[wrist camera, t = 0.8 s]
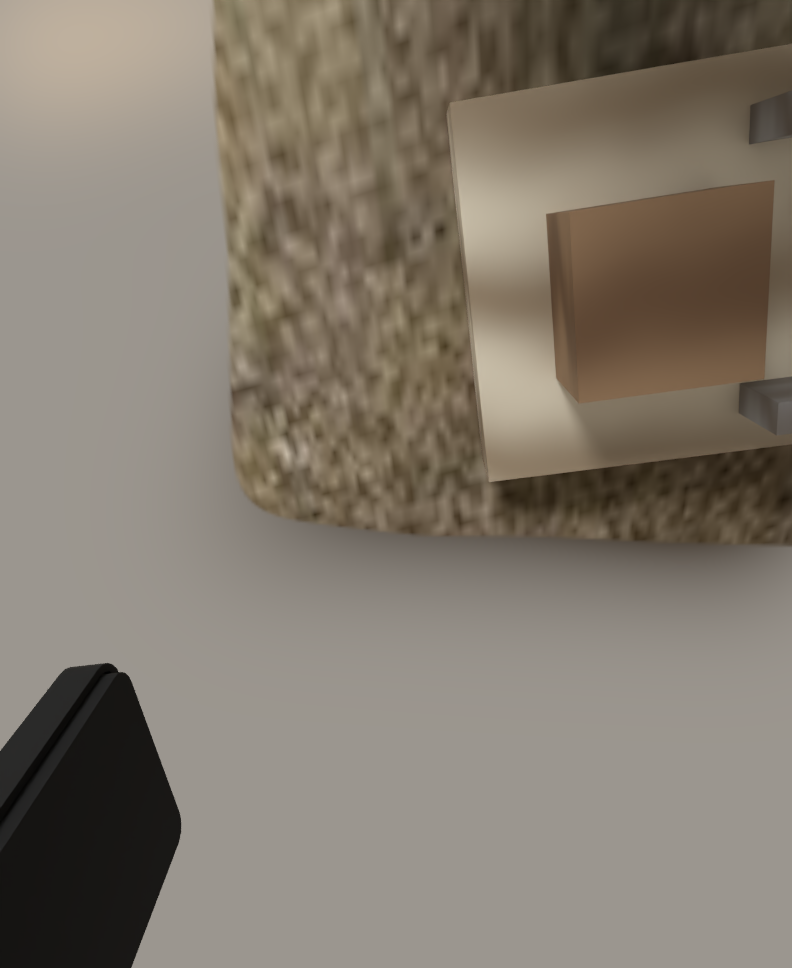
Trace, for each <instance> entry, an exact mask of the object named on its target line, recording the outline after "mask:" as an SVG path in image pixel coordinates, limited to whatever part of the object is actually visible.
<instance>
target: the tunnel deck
mask: <svg viewBox="0 0 792 968" xmlns="http://www.w3.org/2000/svg"><path fill="white" fill-rule="evenodd" d="M446 119H447V128H448V137H449V147H450V156H451V166H452V175H453V184H454V194H455V203H456V213H457V222H458V231H459V241H460V250H461V260H462V269H463V279H464V288H465V297H466V307H467V316H468V326H469V335H470V344H471V354H472V363H473V373H474V382H475V391H476V401H477V410H478V420H479V429H480V438H481V448H482V457H483V462H484V465H485V469H486V473H487V476H488V480H489V482H494V481H502V480H510V479H518V478H526V477H534V476H542V475H550V474H558V473H566V472H574V471H582V470H590V469H598V468H606V467H614V466H622V465H630V464H638V463H646V462H654V461H662V460H670V459H679V458H687V457H695V456H703V455H711V454H719V453H727V452H735V451H743V450H751V449H759V448H767V447H775V446H783V445H791V444H792V44H786V45H781V46H775V47H769V48H763V49H757V50H752V51H746V52H740V53H734V54H728V55H723V56H717V57H711V58H705V59H699V60H694V61H688V62H682V63H676V64H670V65H664V66H659V67H653V68H647V69H641V70H635V71H630V72H624V73H618V74H612V75H606V76H601V77H595V78H589V79H583V80H577V81H572V82H566V83H560V84H554V85H548V86H543V87H537V88H531V89H525V90H519V91H514V92H508V93H502V94H496V95H490V96H484V97H479V98H473V99H467V100H461V101H455V102H450V103H449V107H448V111H447V115H446ZM771 180H775V184H774V203H773V222H772V242H771V261H770V280H769V300H768V319H767V338H766V358H765V377H764V379H761V380H753V381H746V382H738V383H731V384H723V385H716V386H708V387H701V388H693V389H685V390H678V391H670V392H663V393H655V394H648V395H640V396H633V397H625V398H618V399H610V400H603V401H595V402H588V403H580V404H579V403H578V402H577V401H576V400H575V399H574V397H573V396H572V395H571V394H570V393H569V392H568V391H567V390H566V388H565V387H564V386H563V385H562V384H561V383H560V382H559V381H558V379H557V378H556V369H555V352H554V336H553V320H552V304H551V288H550V271H549V255H548V239H547V223H546V214H548V213H555V212H561V211H567V210H574V209H580V208H587V207H593V206H599V205H606V204H612V203H619V202H625V201H631V200H638V199H644V198H651V197H657V196H663V195H670V194H676V193H682V192H689V191H695V190H702V189H708V188H714V187H722V186H730V185H738V184H746V183H755V182H763V181H771Z"/></svg>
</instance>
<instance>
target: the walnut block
mask: <svg viewBox="0 0 792 968" xmlns="http://www.w3.org/2000/svg"><path fill="white" fill-rule="evenodd" d="M774 184H775V180H771V181H763V182H755V183H746V184H738V185H730V186H722V187H714V188H708V189H702V190H695V191H689V192H682V193H676V194H670V195H663V196H657V197H651V198H644V199H638V200H631V201H625V202H619V203H612V204H606V205H599V206H593V207H587V208H580V209H574V210H567V211H561V212H555V213H548V214H546V223H547V239H548V255H549V271H550V288H551V304H552V320H553V336H554V352H555V369H556V378H557V379H558V381H559V382H560V383H561V384H562V385H563V386H564V387H565V388H566V390H567V391H568V392H569V393H570V394H571V395H572V396H573V397H574V399H575V400H576V401H577V402H578V403H579V404H580V403H588V402H595V401H603V400H610V399H618V398H625V397H633V396H640V395H648V394H655V393H663V392H670V391H678V390H685V389H693V388H701V387H708V386H716V385H723V384H731V383H738V382H746V381H753V380H761V379H764V377H765V358H766V338H767V319H768V300H769V280H770V261H771V242H772V222H773V203H774Z"/></svg>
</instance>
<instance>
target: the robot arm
mask: <svg viewBox="0 0 792 968" xmlns="http://www.w3.org/2000/svg"><path fill="white" fill-rule="evenodd" d="M180 834H181V818H180V813H179V810H178V807H177V805H176V802H175V799H174V796H173V794H172V791H171V788H170V786H169V783H168V780H167V777H166V774H165V772H164V769H163V767H162V764H161V761H160V758H159V756H158V753H157V750H156V747H155V745H154V742H153V739H152V736H151V734H150V731H149V728H148V726H147V723H146V720H145V717H144V715H143V712H142V709H141V706H140V704H139V701H138V698H137V696H136V693H135V690H134V687H133V685H132V682H131V680H130V678H129V676H128V675H127V674H126V673H123V672H118V670H117V668H116V667H114V666H113V665H112V664H109V663H105V664H95V665H87V666H78V667H70V668H67V669H65V670H64V671H63V672H62V673H61V674H60V675H59V676H58V678H57V679H56V680H55V681H54V683H53V684H52V685H51V687H50V688H49V689H48V690H47V692H46V693H45V694H44V696H43V697H42V698H41V699H40V701H39V702H38V703H37V705H36V706H35V707H34V708H33V710H32V711H31V712H30V714H29V715H28V716H27V717H26V719H25V720H24V721H23V723H22V724H21V725H20V726H19V728H18V729H17V730H16V732H15V733H14V734H13V735H12V737H11V738H10V739H9V741H8V742H7V743H6V744H5V746H4V747H3V748H2V750H1V751H0V968H131V967H132V964H133V961H134V959H135V956H136V953H137V951H138V948H139V945H140V943H141V940H142V938H143V935H144V933H145V930H146V927H147V925H148V922H149V919H150V917H151V914H152V911H153V909H154V906H155V904H156V901H157V898H158V896H159V893H160V890H161V888H162V885H163V883H164V880H165V877H166V875H167V872H168V869H169V867H170V864H171V862H172V859H173V856H174V854H175V850H176V848H177V846H178V843H179V839H180Z"/></svg>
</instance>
